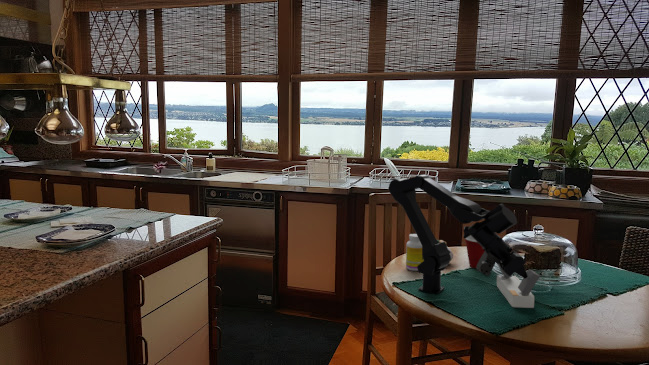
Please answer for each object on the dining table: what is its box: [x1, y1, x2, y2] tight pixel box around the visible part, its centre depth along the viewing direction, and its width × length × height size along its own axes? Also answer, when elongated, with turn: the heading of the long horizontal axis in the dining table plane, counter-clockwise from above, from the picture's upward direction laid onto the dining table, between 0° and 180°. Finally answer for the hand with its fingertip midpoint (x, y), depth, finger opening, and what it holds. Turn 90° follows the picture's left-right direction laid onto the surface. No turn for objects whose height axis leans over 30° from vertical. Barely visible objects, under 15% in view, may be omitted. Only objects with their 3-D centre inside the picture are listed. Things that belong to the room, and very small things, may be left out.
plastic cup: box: [463, 235, 485, 269], centre depth 168 cm, size 11×11×12 cm
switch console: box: [496, 274, 535, 309], centre depth 139 cm, size 6×18×4 cm, turn 173°
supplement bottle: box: [405, 233, 424, 272], centre depth 166 cm, size 7×7×13 cm
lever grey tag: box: [497, 264, 513, 279], centre depth 145 cm, size 2×4×7 cm, turn 173°
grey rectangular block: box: [518, 268, 541, 295], centre depth 131 cm, size 2×4×7 cm, turn 173°
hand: (526, 277), depth 131 cm, fingers closed
